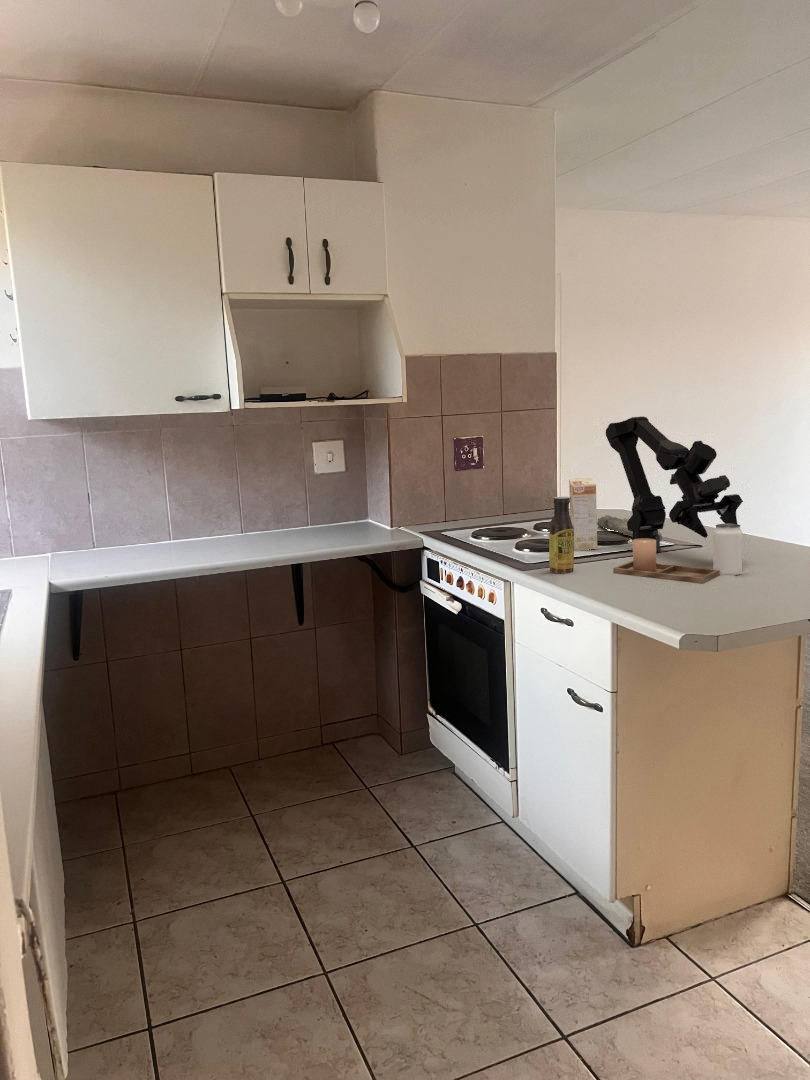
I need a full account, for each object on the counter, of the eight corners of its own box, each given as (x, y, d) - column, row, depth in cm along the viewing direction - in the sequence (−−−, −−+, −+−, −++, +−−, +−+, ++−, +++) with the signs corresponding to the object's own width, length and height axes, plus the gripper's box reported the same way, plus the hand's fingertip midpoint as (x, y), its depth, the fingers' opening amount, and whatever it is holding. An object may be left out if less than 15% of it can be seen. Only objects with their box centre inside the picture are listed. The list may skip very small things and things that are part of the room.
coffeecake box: (570, 541, 251) (568, 478, 248) (593, 540, 250) (592, 477, 247) (573, 551, 237) (571, 484, 233) (598, 550, 236) (596, 483, 232)
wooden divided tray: (613, 575, 204) (613, 568, 204) (632, 567, 211) (632, 560, 211) (702, 586, 189) (702, 578, 188) (720, 577, 196) (720, 569, 195)
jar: (629, 572, 204) (628, 541, 202) (639, 568, 208) (639, 537, 206) (649, 575, 200) (649, 543, 198) (660, 570, 204) (660, 539, 202)
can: (740, 570, 201) (741, 523, 199) (742, 576, 195) (743, 527, 193) (713, 570, 203) (713, 523, 201) (713, 576, 197) (714, 527, 195)
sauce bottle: (559, 577, 206) (557, 499, 202) (544, 573, 211) (542, 497, 208) (580, 573, 209) (578, 496, 205) (564, 569, 214) (562, 494, 211)
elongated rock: (640, 548, 241) (670, 547, 244) (641, 531, 240) (672, 530, 242) (589, 525, 275) (616, 524, 277) (589, 510, 273) (617, 509, 276)
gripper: (675, 468, 198) (706, 518, 190) (737, 462, 204) (770, 510, 196) (656, 497, 207) (684, 546, 199) (716, 490, 213) (746, 537, 204)
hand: (721, 534), depth 199 cm, fingers open, 9 cm apart
